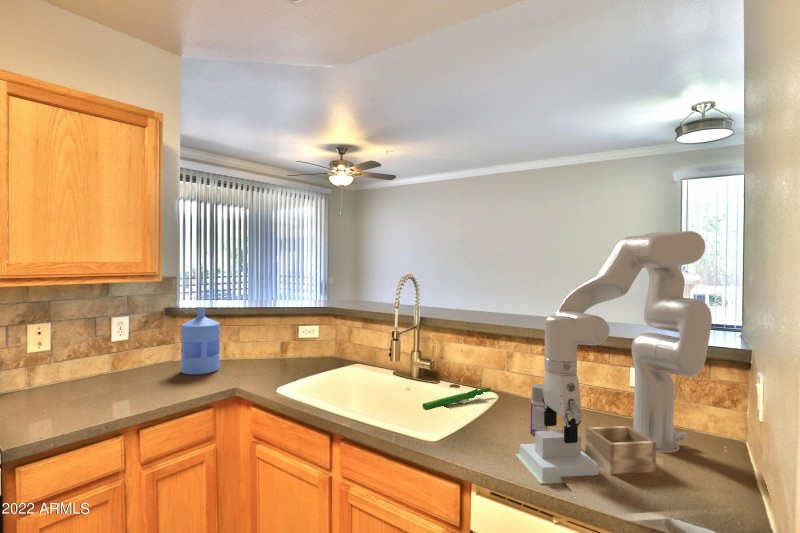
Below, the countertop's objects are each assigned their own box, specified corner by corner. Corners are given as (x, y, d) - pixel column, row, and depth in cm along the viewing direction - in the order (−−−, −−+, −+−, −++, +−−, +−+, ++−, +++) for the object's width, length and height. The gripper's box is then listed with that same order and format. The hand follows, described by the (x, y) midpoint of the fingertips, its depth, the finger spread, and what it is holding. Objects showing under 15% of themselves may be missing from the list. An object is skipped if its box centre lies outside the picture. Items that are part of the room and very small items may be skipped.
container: (533, 432, 123) (535, 382, 122) (549, 437, 120) (550, 386, 119) (527, 437, 119) (528, 386, 119) (543, 442, 116) (545, 389, 116)
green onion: (428, 414, 138) (494, 396, 153) (427, 404, 138) (494, 387, 153) (420, 409, 142) (485, 392, 157) (420, 400, 142) (485, 384, 157)
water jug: (177, 369, 184) (178, 307, 184) (214, 364, 194) (215, 305, 193) (184, 377, 172) (184, 311, 171) (223, 371, 181) (224, 308, 181)
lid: (570, 452, 109) (570, 423, 109) (598, 477, 97) (599, 443, 97) (519, 455, 107) (520, 425, 107) (542, 480, 95) (542, 446, 95)
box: (627, 455, 109) (628, 425, 109) (655, 475, 99) (656, 442, 99) (585, 457, 107) (586, 427, 107) (609, 478, 97) (610, 444, 97)
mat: (571, 452, 110) (571, 451, 110) (604, 480, 96) (604, 479, 96) (515, 455, 108) (515, 454, 108) (540, 484, 94) (540, 482, 94)
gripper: (595, 375, 94) (594, 448, 94) (556, 356, 111) (556, 419, 111) (564, 376, 93) (564, 451, 93) (530, 357, 110) (530, 420, 110)
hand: (560, 433), depth 102 cm, fingers open, 9 cm apart
